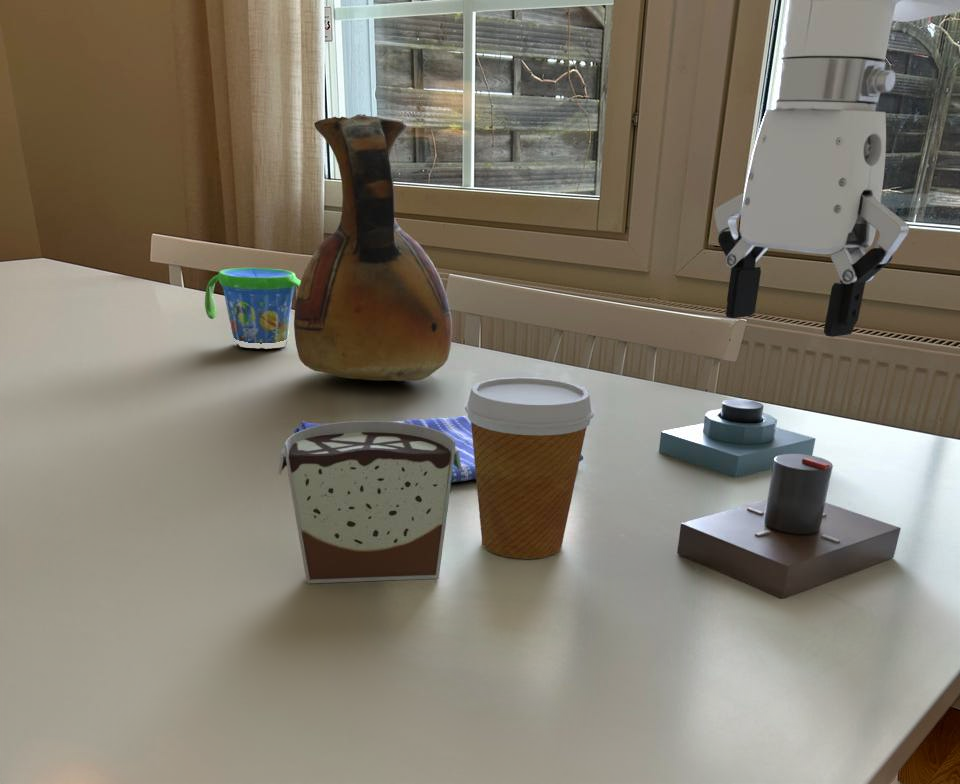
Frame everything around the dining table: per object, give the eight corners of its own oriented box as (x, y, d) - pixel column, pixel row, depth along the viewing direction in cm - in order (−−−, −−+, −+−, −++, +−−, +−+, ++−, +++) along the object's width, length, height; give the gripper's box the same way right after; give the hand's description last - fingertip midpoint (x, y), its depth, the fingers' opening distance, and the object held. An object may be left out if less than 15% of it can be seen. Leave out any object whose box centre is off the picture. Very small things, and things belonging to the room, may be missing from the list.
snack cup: (327, 344, 145) (324, 271, 140) (294, 358, 136) (289, 280, 131) (232, 335, 149) (226, 264, 144) (194, 348, 140) (187, 272, 135)
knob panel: (788, 519, 84) (794, 489, 83) (893, 557, 77) (901, 525, 76) (676, 553, 76) (681, 521, 75) (782, 599, 69) (788, 564, 68)
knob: (752, 521, 76) (763, 454, 73) (786, 511, 78) (798, 446, 76) (796, 538, 73) (810, 469, 70) (831, 528, 75) (845, 460, 73)
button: (737, 414, 101) (740, 397, 101) (769, 423, 99) (772, 405, 98) (711, 419, 99) (714, 401, 98) (743, 428, 96) (746, 410, 96)
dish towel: (290, 447, 98) (288, 419, 97) (500, 425, 108) (501, 400, 106) (350, 501, 84) (349, 469, 83) (584, 470, 94) (586, 441, 93)
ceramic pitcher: (431, 361, 137) (433, 118, 123) (469, 396, 120) (476, 117, 106) (288, 365, 132) (274, 111, 118) (307, 401, 115) (293, 110, 101)
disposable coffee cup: (436, 540, 77) (438, 386, 72) (522, 514, 83) (529, 370, 77) (521, 578, 71) (531, 413, 65) (607, 548, 77) (623, 394, 71)
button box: (734, 436, 107) (740, 399, 105) (811, 459, 100) (819, 420, 98) (658, 452, 101) (663, 413, 99) (735, 478, 94) (741, 437, 92)
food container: (447, 545, 76) (449, 417, 72) (459, 577, 71) (462, 441, 66) (285, 551, 74) (277, 419, 70) (285, 584, 69) (276, 444, 64)
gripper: (962, 91, 70) (907, 338, 78) (762, 92, 82) (732, 307, 90) (905, 85, 66) (853, 347, 74) (703, 88, 78) (677, 313, 85)
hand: (786, 325), depth 82 cm, fingers open, 9 cm apart
